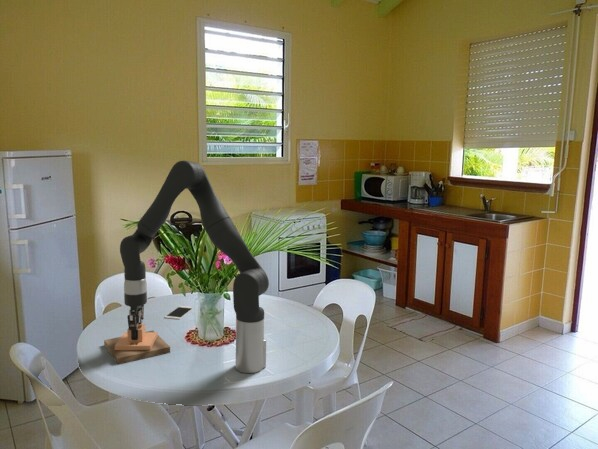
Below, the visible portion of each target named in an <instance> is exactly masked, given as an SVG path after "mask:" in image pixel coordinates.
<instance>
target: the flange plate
mask: <svg viewBox="0 0 598 449" xmlns="http://www.w3.org/2000/svg"><path fill="white" fill-rule="evenodd" d="M133 326H134V325H133ZM133 326H132V327H133ZM157 334H158V331H157V332H156V331H154V332H148V331H146V324H144V323H141V324H138V339H137V340H132V339H131V330H129V327H128V328H127V332H123V333H122V334H121V336H120V337H121V338H120V339H119V341H118V342H117V343H116V345H115V350H151V348H152V346H153V344H154V342H155V340H156V338H157ZM133 343H136V345H132V344H133Z"/></svg>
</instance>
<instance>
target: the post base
mask: <svg viewBox="0 0 598 449" xmlns="http://www.w3.org/2000/svg"><path fill="white" fill-rule="evenodd" d="M147 332H155V331H154V330H149V331H147ZM120 338H121V336H118V337H113V338H108V339H104V340H103V343H104V344H103V345H104V347H105V348H106V350H107V351H108V353H109V354H110V356H111V357H112V358H113V360H114V361H115V362H117V363H116V364H117V365H121V364H125V363H128V362H133V361H137V360H142V359H146V358H151V357H154V356H159V355H163V354H169V353H171V346H170V345H169V344H168V343H167V342H166V341H165V340H164V339H163V338H162V337H160V335H159V334H158V333H157V338H156V340H155V342H154V344H153V346H152V348H151V350H115V345H116V343H117V342H118V341H119V339H120ZM132 345H136V343H133V344H132ZM120 363H121V364H120Z"/></svg>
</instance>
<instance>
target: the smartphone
mask: <svg viewBox="0 0 598 449" xmlns="http://www.w3.org/2000/svg"><path fill="white" fill-rule="evenodd" d="M194 309H195V307H194V306H187V305H178V307H176V308H175V309H173V310H172V311H171V312H169V313H168V314H166V315H165V316H164V319H171V320H179V321H180V320H181V319H182V318H184V317H185V316H186V315H188V314H190V312H192V311H193V310H194Z"/></svg>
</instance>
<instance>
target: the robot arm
mask: <svg viewBox="0 0 598 449" xmlns="http://www.w3.org/2000/svg"><path fill="white" fill-rule="evenodd" d="M185 190H188V191H189V192H190V194H191V196H192V197H193V199H194V200H195V201H196V204H197V206H198V209H199V215H200V219H201V220H200V221H201V224H202V227H203V229H204V231H205V232H206V234H207V236H208V238H209V240H210V241H211V242H212V244H213V245H214V246H215V248H217V249H218V250H219V251H220V252H222V254H224V255H225V256H226V257H228V258H229V259H230V260H231V261H232V262H233V263H234V265H235V267H236V268H237V270H238V271H239V273H238V274H237V275H236V277H235V278H234V280H233V283H232V284H233V285H232V286H233V287H232V299H233V300H232V301H233V310H234V313H235V370H237V371H238V372H240V373H243V374H253V373H258V372H261V371H262V370H263V369H264V368H266V367H267V340H266V339H265V310H264V308H263V307H261V306H260V296H261V295H263V294H265V293H266V292H267V291H268V288H269V285H270V282H269V277H268V275H267V272H266V271H265V270H264V269H263V267H262V266H261V264H260V263H259V262H258V261H257V259H256V258H255V256H254V255H253V253H252V252H251V251H250V249H249V247H248V245H247V244H246V242H245V240H244V239H243V237H242V236H241V234H240V232H239V231H238V228H237V227H236V225H235V223H234V222H233V220H232V218H231V217H230V215H229V213H228V212H227V210H226V209H225V207H224V206H223V203H222V202H221V200H220V199H219V198H218V196H217V194H216V192H215V190H214V189H213V186H212V184H211V182H210V180H209V177H208V174H207V173H206V171H205V169H204V168H203V166H202V165H201V164H199V162H198V163H197V162H195V161H190V160H179V161H177V162H175V163H174V165H172V167H171V169H170V171H169V172H168V175H167V176H166V178H165V180H164V182H163V184H162V186H161V188H160V190H159V192H158V194H157V195H156V196H155V198H154V200H153V202H152V203H151V204H150V206H149V207H148V208H147V210H145V212H144V214H143V215H142V217H141V218H140V219H139V221H138V222H137V225H136V226H137V228H136V229H135V231H134V232H133V233H132V234H131V235H128V236H125V237H124V238H123V239H122V240H121V242H120V245H119V253H120V257H121V260H122V265H123V268H124V270H123V271H124V276H123V277H124V282H123V292H124V293H123V296H124V301H123V302H124V305H125V306H127V307H130V308H129V310H128V314H127V324H128V325H127V326H128V328H129V330H131V339H132V340H137V339H138V324H143V320H144V319H145V318H144V312H145V311H144V310H145V305H146V304H147V302H148V295H147V294H148V293H147V292H148V291H147V290H148V289H147V288H148V287H147V276H146V275H147V274H146V264H145V262H144V261H141V255H140V254H142V253H143V252H145V251H146V250H147V249H148V248H149V246H151V243H152V241H153V239H155V238H154V237H155V235H156V234H157V233H158V232H159V230H160V229H161V228H162V227H163V225H164V223H166V221H167V219H168V217H169V216H170V213H171V209H172V206H173V205H174V202H175V201H176V199H177V198H178V196H179V195H180V194H181V193H182V192H183V191H185ZM133 325H134V326H133ZM132 326H133V327H132Z"/></svg>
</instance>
